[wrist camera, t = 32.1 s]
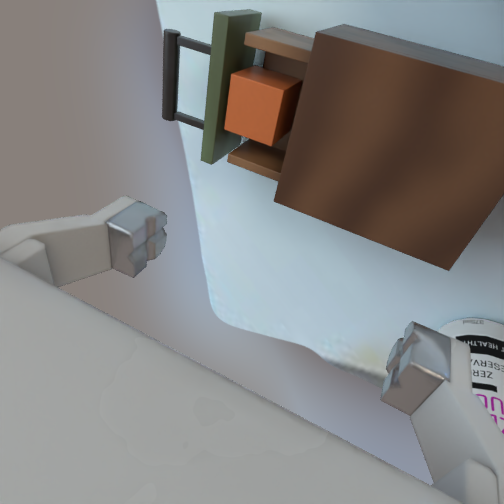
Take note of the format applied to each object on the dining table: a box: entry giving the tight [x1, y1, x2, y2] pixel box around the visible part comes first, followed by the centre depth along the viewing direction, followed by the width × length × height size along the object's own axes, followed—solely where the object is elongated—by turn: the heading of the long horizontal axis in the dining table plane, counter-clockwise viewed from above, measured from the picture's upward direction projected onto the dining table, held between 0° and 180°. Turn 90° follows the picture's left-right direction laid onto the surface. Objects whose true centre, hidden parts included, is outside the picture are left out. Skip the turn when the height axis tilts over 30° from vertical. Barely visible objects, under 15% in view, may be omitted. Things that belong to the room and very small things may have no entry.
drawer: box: [162, 9, 314, 182], centre depth 30 cm, size 18×11×6 cm, turn 79°
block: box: [224, 65, 302, 146], centre depth 30 cm, size 4×4×4 cm
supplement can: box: [437, 318, 504, 434], centre depth 33 cm, size 8×8×15 cm
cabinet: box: [274, 24, 504, 271], centre depth 28 cm, size 15×13×8 cm
